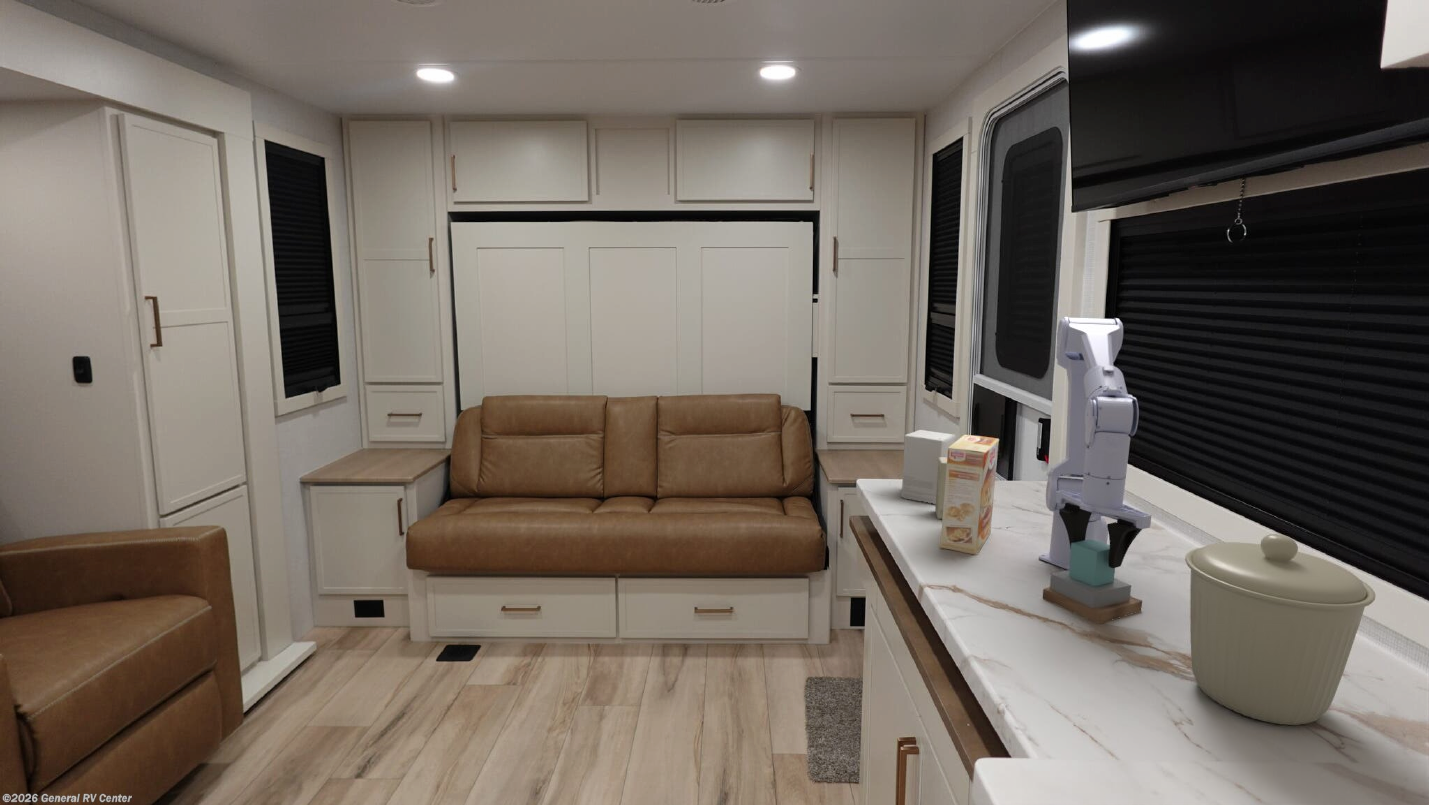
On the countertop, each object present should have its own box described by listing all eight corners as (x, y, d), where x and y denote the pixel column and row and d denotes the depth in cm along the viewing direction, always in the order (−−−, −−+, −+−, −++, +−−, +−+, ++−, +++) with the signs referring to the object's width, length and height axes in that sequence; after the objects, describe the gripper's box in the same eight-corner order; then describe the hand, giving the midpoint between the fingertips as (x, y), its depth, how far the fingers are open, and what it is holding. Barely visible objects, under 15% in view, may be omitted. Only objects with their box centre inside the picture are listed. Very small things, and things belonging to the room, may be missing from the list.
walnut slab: (1082, 592, 126) (1083, 578, 125) (1140, 616, 117) (1142, 600, 117) (1041, 603, 121) (1043, 588, 120) (1099, 629, 112) (1101, 613, 112)
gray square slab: (1085, 581, 124) (1086, 566, 123) (1129, 600, 117) (1131, 585, 116) (1049, 588, 121) (1051, 573, 120) (1092, 608, 113) (1094, 593, 113)
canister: (1141, 661, 101) (1160, 509, 98) (1278, 665, 101) (1302, 513, 97) (1227, 743, 84) (1253, 561, 80) (1394, 749, 83) (1429, 567, 80)
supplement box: (952, 497, 176) (957, 434, 174) (937, 505, 169) (942, 440, 167) (916, 489, 182) (920, 428, 179) (900, 497, 175) (904, 434, 172)
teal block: (1088, 572, 121) (1090, 539, 120) (1113, 581, 117) (1116, 547, 116) (1068, 576, 119) (1071, 543, 118) (1094, 586, 115) (1097, 552, 114)
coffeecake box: (977, 555, 139) (986, 452, 136) (938, 548, 142) (945, 447, 139) (992, 532, 152) (1000, 437, 149) (956, 526, 155) (963, 433, 152)
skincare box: (958, 521, 159) (962, 464, 157) (937, 519, 159) (941, 463, 157) (955, 512, 165) (959, 457, 163) (934, 510, 166) (938, 456, 164)
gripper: (1046, 466, 120) (1038, 548, 122) (1134, 489, 107) (1123, 580, 109) (1075, 462, 123) (1066, 541, 125) (1163, 484, 111) (1152, 572, 113)
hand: (1095, 559), depth 118 cm, fingers open, 6 cm apart
